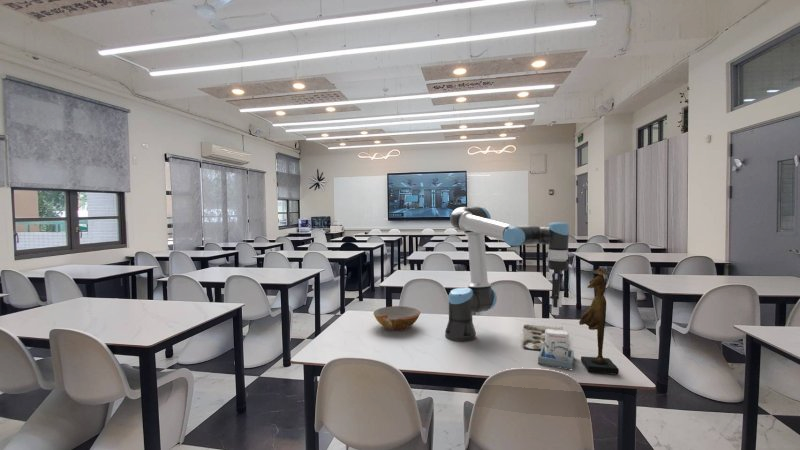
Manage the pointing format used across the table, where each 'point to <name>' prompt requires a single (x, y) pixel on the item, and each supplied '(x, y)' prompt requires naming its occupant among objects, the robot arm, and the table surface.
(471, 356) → the table surface
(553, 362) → the tray
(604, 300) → the sculpture
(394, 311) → the bowl
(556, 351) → the ink box
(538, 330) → the stone relief
